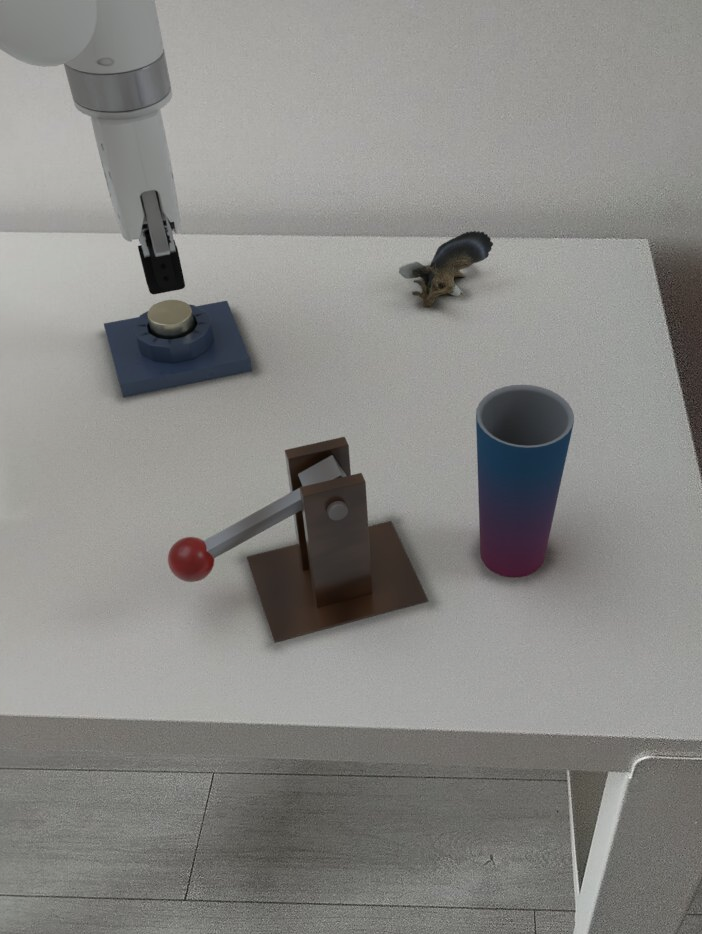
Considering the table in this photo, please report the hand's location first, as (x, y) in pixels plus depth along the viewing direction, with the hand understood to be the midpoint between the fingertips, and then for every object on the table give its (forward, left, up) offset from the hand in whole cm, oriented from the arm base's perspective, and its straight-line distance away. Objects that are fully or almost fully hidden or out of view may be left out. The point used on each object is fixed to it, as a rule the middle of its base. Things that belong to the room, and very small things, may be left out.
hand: (166, 286), depth 94 cm
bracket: (+6, -33, -8) cm, 34 cm away
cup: (+20, -35, -8) cm, 41 cm away
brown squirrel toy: (+28, +2, -8) cm, 29 cm away
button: (0, 0, -4) cm, 4 cm away
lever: (+1, -33, 0) cm, 33 cm away
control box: (0, 0, -8) cm, 8 cm away
